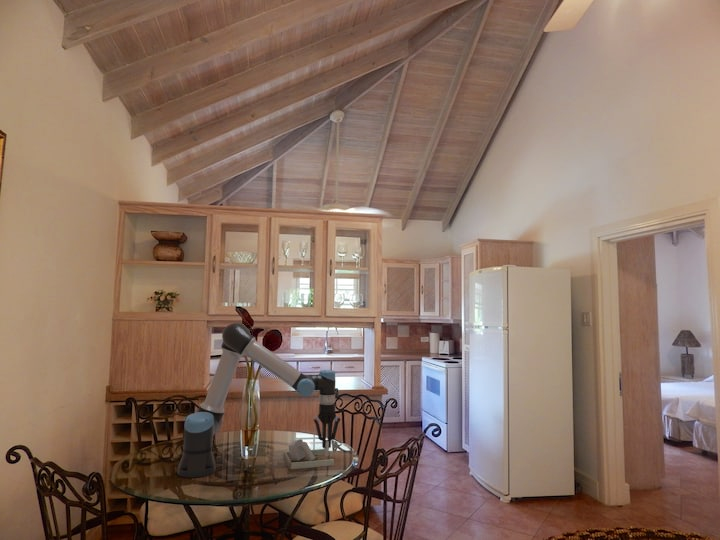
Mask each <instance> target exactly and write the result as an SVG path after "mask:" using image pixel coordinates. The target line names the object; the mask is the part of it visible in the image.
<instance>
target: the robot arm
mask: <svg viewBox="0 0 720 540" xmlns="http://www.w3.org/2000/svg"><path fill="white" fill-rule="evenodd" d="M242 323H243V322H233V323H230V324H228V325H227V326H226V327H225V328H223V331H222V336H221V338H222V339H221V340H222V344H221V346H220V348H221V350H222V353H221V355H220V359H219V361H218V364H217V367H216V368H215V369H216V370H215V372H214V375H213V378H212V379H211V380H212V381H211V383H210V385H209V389H208V391H207V394H206V397H205V400H204V402H201V403H200V404H199V406H198V409H197V412H196V411H195V412H194V413H190V414H189V415H187V416H186V417H185V420H184V423H183V424H184V426H183V427H184V428H183V429H184V430H183V432H184V433H183V447H182V449H183V450H182V452H183V453H182V455H181V456H182V457H181V459H180V461H179V463H178V466H177V476H179V477H180V478H181V477H182V478H189V479H191V478H201V477H206V476H209V475H211V474H213V473H215V472H216V467H217V465H216V460H215V457H214V453H213V439H214V436H215V434H216V433H218V431H219V430H220V429H221V426H222V424H223V423H222V422H223V417H224V415H225V411H226V410H225V408H224V405H225V402H226V399H227V396H228V393H229V392H230V391H229V390H230V388H231V385H232V383H233V380H234V376H235V374H236V372H237V368H238V365H239V362H240V361H241V360H240V359H241V358H242V357H243V356H246V357H247V358H249V359H250V360H252V361H253V362H255V363H256V364H257V365H259V366H261V367H262V368H264V369H265V370H266V371H267V372H269V373H271V374H272V375H273V376H275V377H276V378H278V379H279V380H281V381H282V382H284V383H286V385H288V386H289V387H291V388H292V389H293V390H294V391H295V392H297V393H298V394H299V395H300V396H301V397H309V396H312V394H313V393H314V391H315V392H317V391H319V397H318V399H319V400H318V402H319V406H318V407H319V408H318V415H317V417H316V418H313V422H314V424H315V427H316V428H315V429H316V433H317V438H318V440H319V441H321V443H322V444H321V445H322V449H324V456H325V457H329V456H330V454H329V452H330V448H331V447H332V441H333V440H335V439H336V434H337V430H338V427H339V423H340V421H341V418H340V417H339V416H337V414H336V404H335V403H336V371H334V370H333V369H321V370H320V371H319V372H318V374H304V373H302V372H301V371H299V370H298V369H297V368H295V367H294V366H292V365H291V364H289V363H288V362H286V361H285V360H284V359H282V358H281V357H279V356H278V355H276V354H275V353H274V352H272V350H269V349H268V348H266V347H265V346H264V345H263V344H261V343H260V342H258V341H257V340H256V337H255V336H254V335H253V334H252V335H251V333H250V330H249V329H248V328H247V327H246V326H245V325H244V324H245V323H244V324H242ZM320 422H321V424H322V425H321V427H322V430H321V427H320V424H319V423H320ZM332 423H333V424H332ZM332 425H333V428H332ZM321 431H322V432H321Z"/></svg>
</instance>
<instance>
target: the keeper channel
mask: <svg viewBox="0 0 720 540" xmlns="http://www.w3.org/2000/svg"><path fill="white" fill-rule="evenodd" d="M311 451H312V453H313V454H314V456H323V455H324V448H318V449H317V448H316V449H311ZM324 456H325V455H324ZM305 457H307V456H306V454H305ZM283 459H284V461H285V464H286V466H287V468H288V469H289V470H298V469H299V470H300V469H308V468H309V469H310V468H321V466H322V467H330V466H335V459H334V458H331V459H329V458H328V459H321V460H312V461H309V460H308V461H307V460H306V461H293V462H292V461H291V459H290V453H289V451H286V450H283Z"/></svg>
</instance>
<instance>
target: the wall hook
mask: <svg viewBox="0 0 720 540" xmlns="http://www.w3.org/2000/svg"><path fill="white" fill-rule="evenodd" d="M287 447H288V450H289V451H288V452H289V453H290V458H289V459H290V461H291V462H299V461H301V460H302V459H304V458H305V457H307V459H308V461H314V460H315V459H316V455H314V454H313V453H312V451H311V450H312V448H310V446H309V445H308V443H307V442H305V441H303V439H301V438H299V439H295V440H292V441H290V442H289V443H288V446H287ZM305 454H306V456H305Z"/></svg>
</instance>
